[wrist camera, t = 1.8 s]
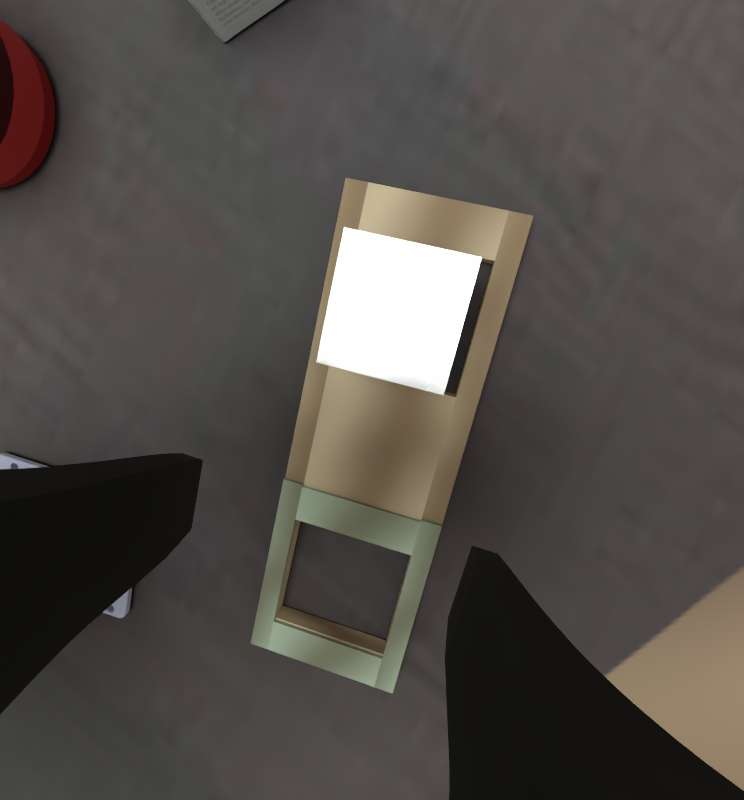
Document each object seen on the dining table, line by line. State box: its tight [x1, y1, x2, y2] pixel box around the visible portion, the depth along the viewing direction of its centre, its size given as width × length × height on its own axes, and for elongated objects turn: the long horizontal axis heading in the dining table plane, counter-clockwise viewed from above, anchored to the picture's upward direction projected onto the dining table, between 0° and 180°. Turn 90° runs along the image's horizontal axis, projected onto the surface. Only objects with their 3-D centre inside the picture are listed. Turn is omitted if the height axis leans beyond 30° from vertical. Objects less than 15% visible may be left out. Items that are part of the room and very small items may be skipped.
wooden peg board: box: [251, 178, 534, 694], centre depth 20 cm, size 8×24×1 cm, turn 167°
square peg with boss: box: [316, 227, 482, 395], centre depth 17 cm, size 4×4×6 cm
